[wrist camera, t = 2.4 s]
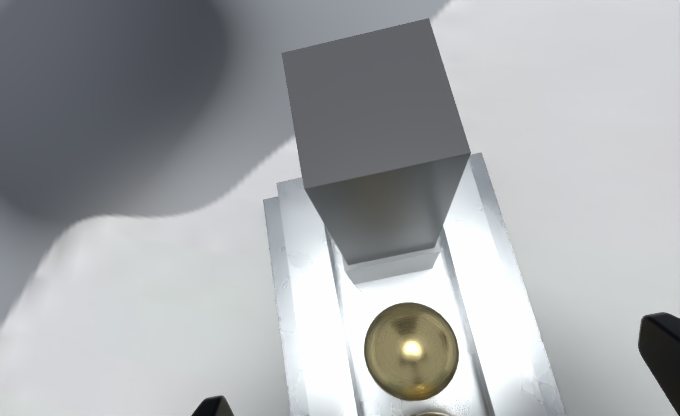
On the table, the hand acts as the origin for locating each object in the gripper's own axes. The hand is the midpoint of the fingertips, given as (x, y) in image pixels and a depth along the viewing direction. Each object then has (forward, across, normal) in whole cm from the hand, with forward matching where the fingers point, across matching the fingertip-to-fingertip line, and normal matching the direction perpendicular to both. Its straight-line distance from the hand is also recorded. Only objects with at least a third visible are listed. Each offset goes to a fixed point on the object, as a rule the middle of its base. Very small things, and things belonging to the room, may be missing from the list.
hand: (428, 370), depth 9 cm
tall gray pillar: (+12, 0, +4) cm, 13 cm away
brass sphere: (+8, 0, +8) cm, 11 cm away
